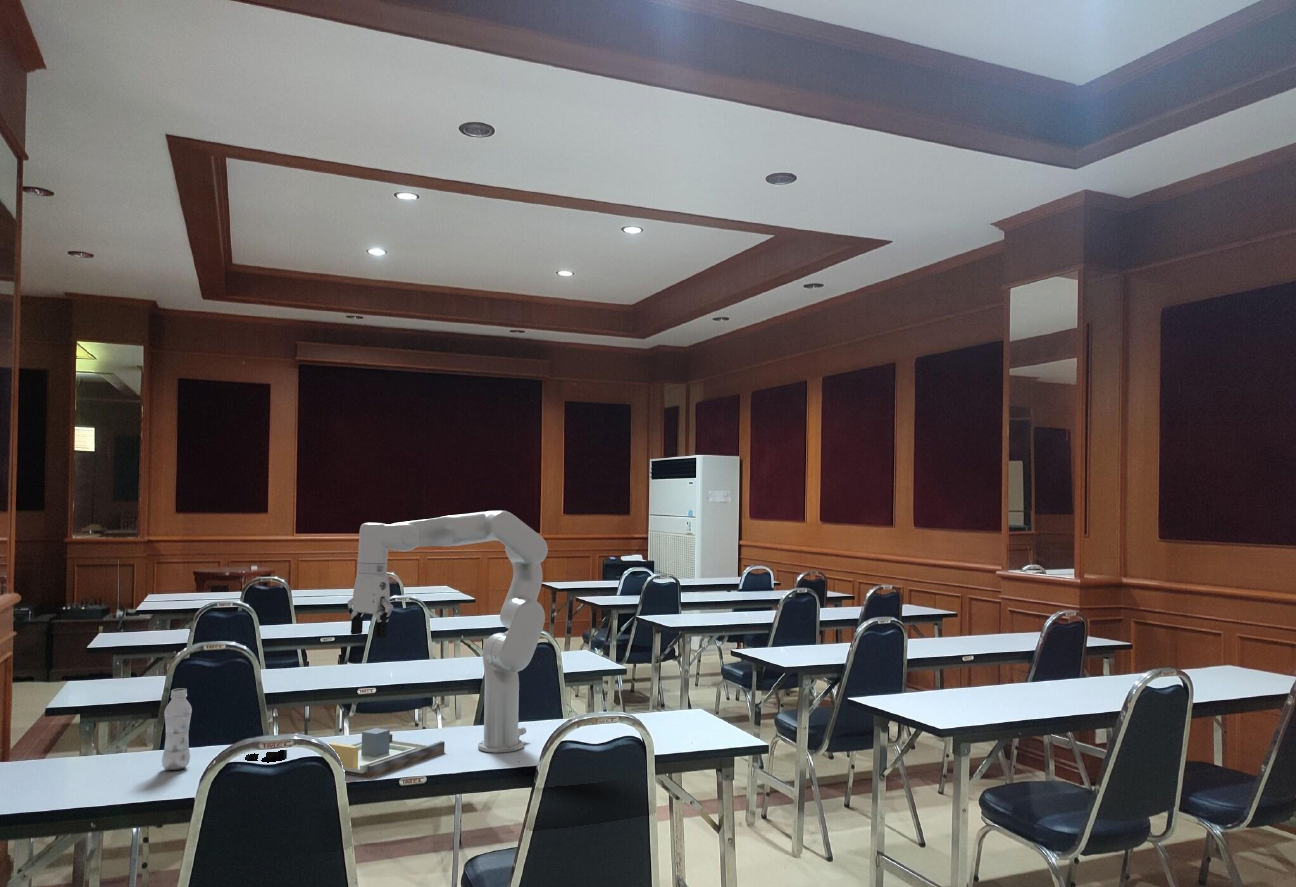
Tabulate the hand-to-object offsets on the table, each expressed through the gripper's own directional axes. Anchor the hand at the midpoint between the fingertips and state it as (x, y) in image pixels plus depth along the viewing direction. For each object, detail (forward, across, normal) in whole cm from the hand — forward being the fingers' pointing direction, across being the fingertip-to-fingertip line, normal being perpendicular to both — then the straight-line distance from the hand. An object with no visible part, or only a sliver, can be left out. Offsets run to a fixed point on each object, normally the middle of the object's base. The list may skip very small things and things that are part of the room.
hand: (368, 635), depth 238 cm
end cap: (+35, +18, +15) cm, 42 cm away
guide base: (+33, +2, -8) cm, 34 cm away
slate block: (+31, +2, -6) cm, 32 cm away
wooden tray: (+32, +1, -3) cm, 32 cm away
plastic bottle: (+35, +37, +28) cm, 58 cm away
